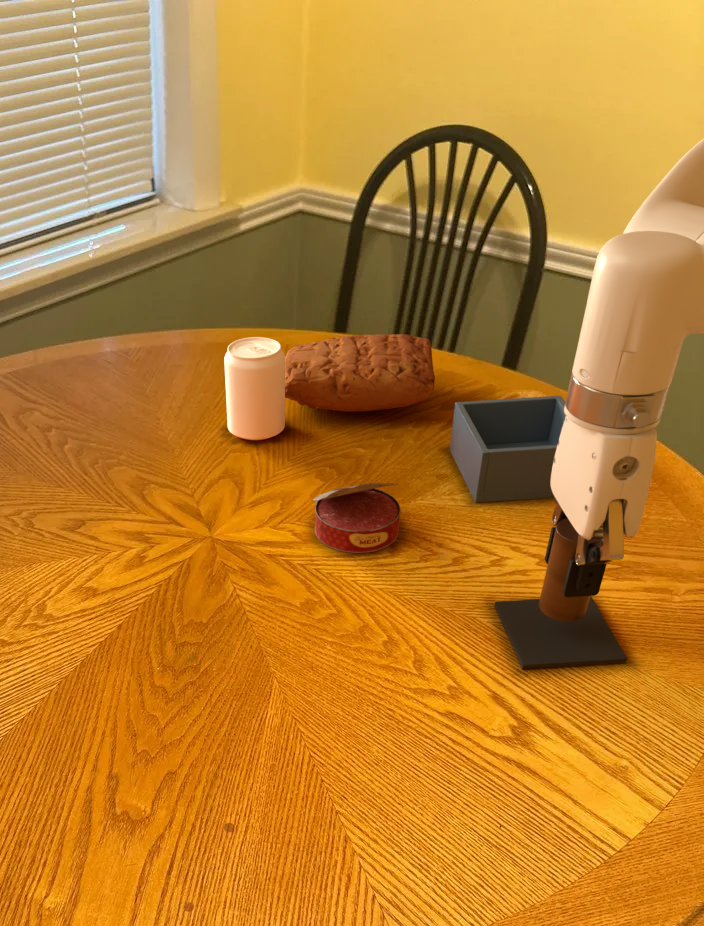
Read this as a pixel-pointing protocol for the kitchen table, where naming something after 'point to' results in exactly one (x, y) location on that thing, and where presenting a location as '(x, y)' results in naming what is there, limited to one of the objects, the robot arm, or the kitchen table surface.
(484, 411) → the bin
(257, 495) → the kitchen table surface
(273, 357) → the beverage can
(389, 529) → the canned food
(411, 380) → the inscribed clay slab
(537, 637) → the mat
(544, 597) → the brown cylinder
